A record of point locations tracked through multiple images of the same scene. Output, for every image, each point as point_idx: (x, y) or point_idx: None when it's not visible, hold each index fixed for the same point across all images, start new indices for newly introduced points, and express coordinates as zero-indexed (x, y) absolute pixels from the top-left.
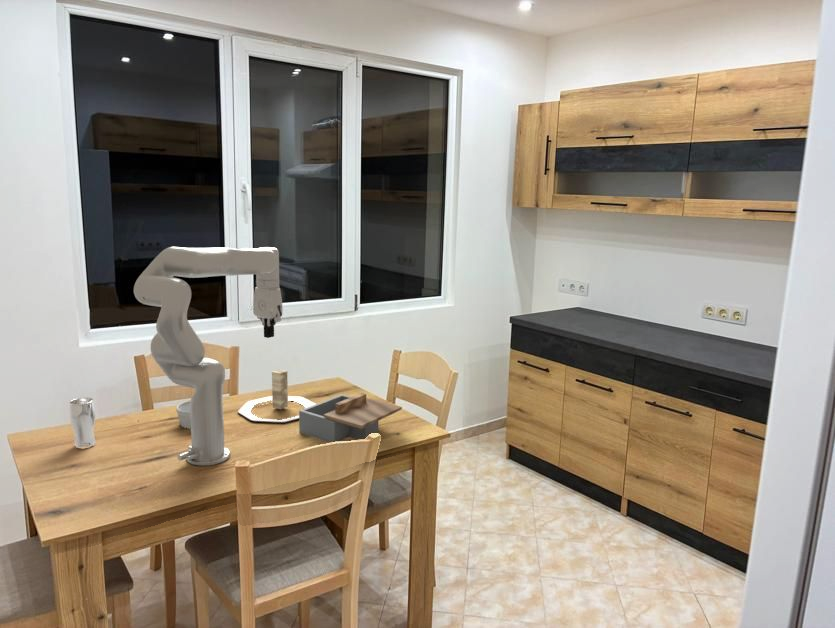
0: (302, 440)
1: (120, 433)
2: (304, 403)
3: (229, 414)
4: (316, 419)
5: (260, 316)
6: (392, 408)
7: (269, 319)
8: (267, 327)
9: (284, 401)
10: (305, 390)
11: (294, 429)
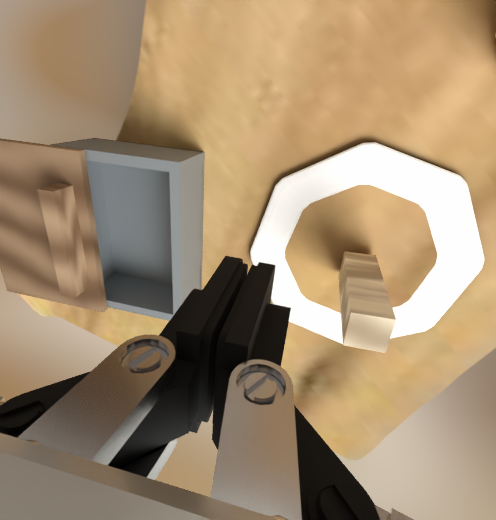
0: (165, 114)
1: None
2: (318, 315)
3: (488, 157)
4: (118, 151)
5: (191, 515)
6: (10, 273)
7: (32, 440)
8: (183, 331)
9: (341, 274)
10: (375, 389)
11: (230, 164)
